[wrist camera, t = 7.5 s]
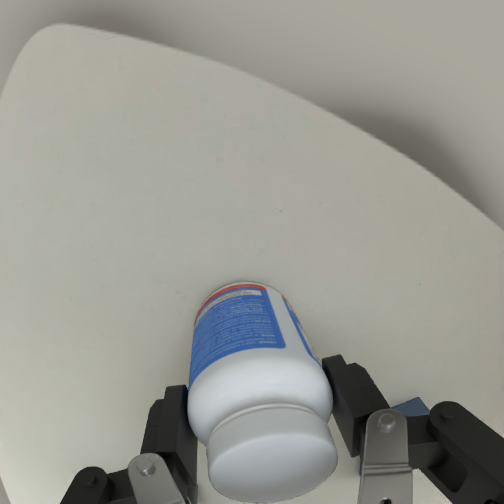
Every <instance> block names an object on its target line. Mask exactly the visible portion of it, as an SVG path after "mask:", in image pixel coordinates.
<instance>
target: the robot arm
mask: <svg viewBox="0 0 504 504" xmlns="http://www.w3.org/2000/svg"><path fill="white" fill-rule="evenodd" d="M322 368H323V370H324V373H325V375H326V377H327V379H328V381H329V384H330V386H331V389H332V393H333V410H332V414H333V416H334V418H335V421H336V423H337V425H338V428H339V430H340V432H341V435H342V437H343V439H344V441H345V444H346V446H347V448H348V451H349V453H350V455H351V458H352V457H356V456H359V455H360V458H361V460H362V469H361V479H360V487H359V495H358V502H357V504H412V500H413V475H412V469H418V468H419V469H420V470H421V471H422V472H423V473H424V474H425V475H426V477H427V478H428V479H429V480H430V481H431V482H432V483H433V484H434V485H435V486H436V487H437V488H438V489H439V490H440V491H441V492H442V493H443V494H444V495H445V496H446V497H447V498H448V499H449V500H450V501H451V502H452V503H453V504H504V438H503V437H501V436H500V435H499V434H497V433H496V432H495V431H494V430H492V429H491V428H490V427H488V426H487V425H486V424H485V423H483V422H482V421H481V420H479V419H478V418H477V417H476V416H474V415H473V414H472V413H470V412H469V411H468V410H466V409H465V408H464V407H463V406H461V405H460V404H458V403H456V402H452V401H444V402H440V403H438V404H436V405H435V406H433V407H432V409H431V410H430V413H429V414H427V415H420V416H404V415H403V414H402V413H401V412H400V411H397V410H394V409H391V408H390V406H389V405H388V403H387V402H386V400H385V398H384V397H383V395H382V394H381V392H380V391H379V389H378V388H377V386H376V385H375V384H374V382H373V380H372V379H371V378H370V376H369V374H368V373H367V371H366V370H365V368H363V367H362V366H360V365H358V364H357V363H352V364H348V365H347V364H346V362H345V361H344V359H343V357H342V356H341V355H340V354H339V355H335V356H331V357H327V358H323V359H322ZM187 406H188V389H187V387H186V385H185V384H184V385H176V386H168V387H166V391H165V397H164V399H159V400H156V401H155V403H154V404H153V405H152V407H151V408H150V411H149V415H148V420H147V424H146V426H147V427H146V429H145V434H144V438H143V443H142V448H141V453H140V455H138V456H136V457H135V458H133V459H132V460H131V462H130V463H129V465H128V468H127V469H125V470H121V471H117V472H113V473H109V474H106V472H105V471H104V470H103V469H101V468H99V467H87V468H84V469H82V470H81V471H79V472H78V473H77V475H76V476H75V478H74V479H73V481H72V483H71V485H70V487H69V488H68V490H67V492H66V494H65V495H64V497H63V499H62V501H61V503H60V504H191V502H190V500H189V498H188V497H187V487H194V486H196V476H197V443H198V438H197V437H196V436H195V434H194V432H193V431H192V429H191V426H190V424H189V420H188V412H187Z"/></svg>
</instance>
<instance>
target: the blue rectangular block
mask: <svg viewBox="0 0 504 504" xmlns="http://www.w3.org/2000/svg"><path fill="white" fill-rule="evenodd" d="M391 409H394V410H397V411H400V412H401V413H402V414H403V415H404V416H420V415H427V414H429V413H430V411H429V409H428V408H427V407H426V406H425V404H424V403H423V402H422V400H421V399H420V398H419V397H418V398H416V399H413V400H411V401H408V402H406V403H403V404H401V405H398V406H396V407H393V408H391ZM361 469H362V460H361V467H360V476H361ZM412 470H413V469H412Z"/></svg>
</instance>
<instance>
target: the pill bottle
mask: <svg viewBox="0 0 504 504" xmlns="http://www.w3.org/2000/svg"><path fill="white" fill-rule="evenodd" d="M332 410H333V393H332V389H331V386H330V384H329V381H328V379H327V377H326V375H325V373H324V370H323V368H322V366H321V364H320V362H319V360H318V358H317V356H316V354H315V352H314V350H313V348H312V346H311V344H310V342H309V340H308V338H307V336H306V334H305V332H304V330H303V328H302V326H301V325H300V323H299V321H298V318H297V317H296V314H295V313H294V311H293V309H292V307H291V306H290V304H289V303H288V301H287V300H286V299H285V298H284V297H283V296H282V295H281V294H280V293H279V292H277V291H276V290H275V289H273V288H271V287H269V286H267V285H264V284H260V283H255V282H238V283H233V284H230V285H227V286H224V287H222V288H220V289H218V290H217V291H215V292H214V293H213V294H211V295H210V296H209V297H208V298H207V299H206V300H205V301H204V303H203V304H202V305H201V307H200V309H199V311H198V313H197V316H196V320H195V324H194V333H193V344H192V354H191V365H190V377H189V389H188V406H187V412H188V420H189V424H190V426H191V429H192V431H193V432H194V434H195V436H196V437H197V438H198V440H199V441H200V442H201V443H202V444H203V445H205V446H206V447H207V449H206V454H207V459H208V475H209V480H210V482H211V484H212V486H213V487H214V488H215V489H216V490H217V491H218V492H219V493H221V494H222V495H224V496H226V497H228V498H231V499H234V500H237V501H241V502H248V503H272V502H279V501H284V500H288V499H292V498H295V497H298V496H301V495H303V494H305V493H307V492H309V491H311V490H313V489H315V488H316V487H318V486H319V485H321V484H322V483H323V482H325V481H326V480H327V479H328V478H329V477H330V476H331V474H332V473H333V472H334V470H335V468H336V466H337V461H338V454H337V450H336V447H335V444H334V442H333V439H332V436H331V433H330V430H329V428H328V426H327V423H328V421H329V419H330V417H331V413H332Z"/></svg>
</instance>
